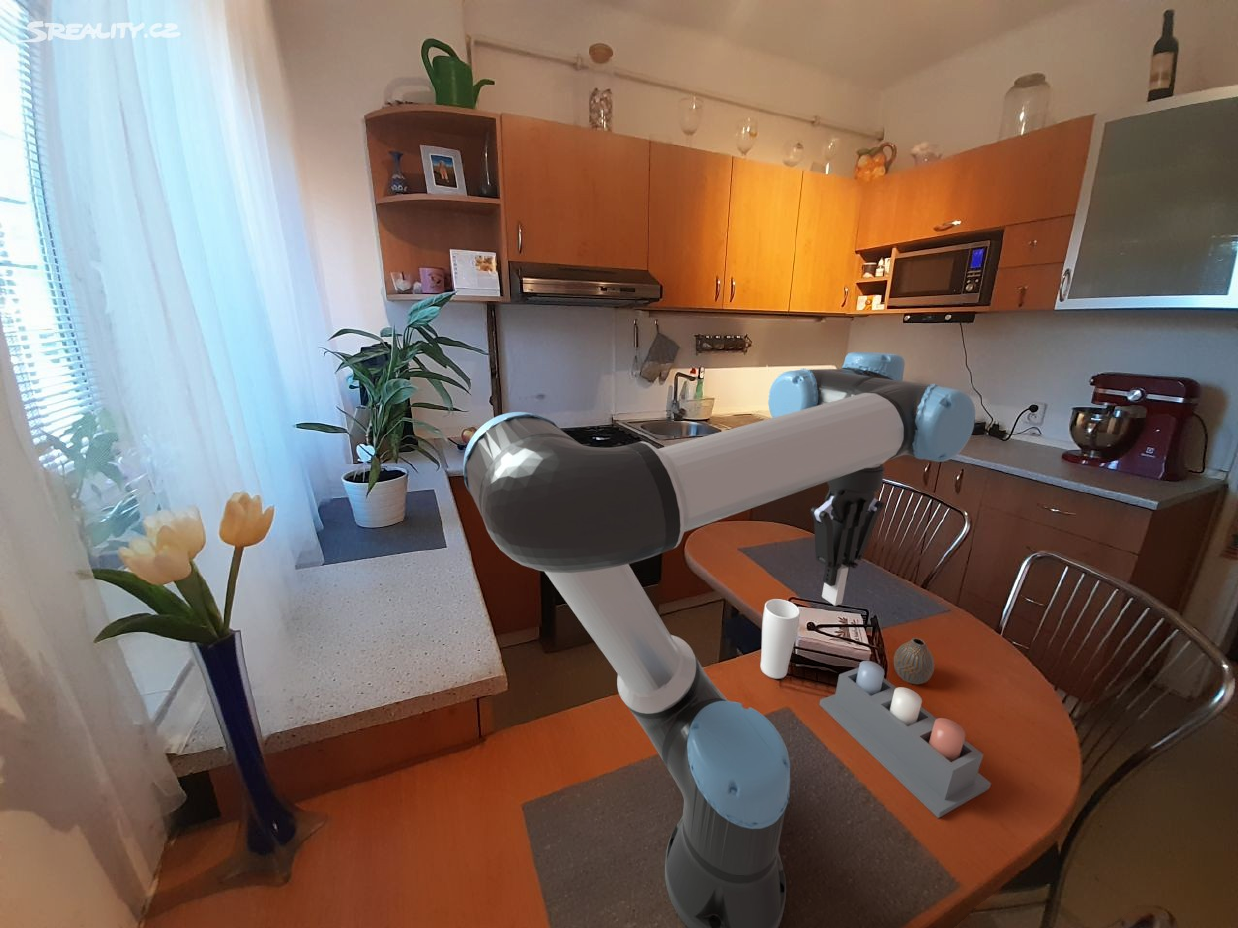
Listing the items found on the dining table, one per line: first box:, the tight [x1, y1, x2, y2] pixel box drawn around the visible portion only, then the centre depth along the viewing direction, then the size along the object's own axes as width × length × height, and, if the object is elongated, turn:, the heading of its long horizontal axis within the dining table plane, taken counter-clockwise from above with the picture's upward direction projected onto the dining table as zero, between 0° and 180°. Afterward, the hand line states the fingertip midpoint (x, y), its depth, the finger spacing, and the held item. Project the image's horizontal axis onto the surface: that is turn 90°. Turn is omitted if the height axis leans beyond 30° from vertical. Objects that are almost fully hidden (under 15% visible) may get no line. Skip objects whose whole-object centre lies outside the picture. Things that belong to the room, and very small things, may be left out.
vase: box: [893, 637, 935, 685], centre depth 96 cm, size 7×7×9 cm
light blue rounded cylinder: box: [856, 660, 885, 696], centre depth 87 cm, size 4×4×7 cm
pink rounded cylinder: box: [929, 717, 966, 762], centre depth 74 cm, size 4×4×7 cm
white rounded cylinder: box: [890, 686, 923, 726], centre depth 81 cm, size 4×4×7 cm
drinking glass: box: [759, 598, 801, 680], centre depth 96 cm, size 7×7×15 cm
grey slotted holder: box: [819, 667, 992, 819], centre depth 82 cm, size 12×23×7 cm, turn 23°
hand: (831, 600), depth 77 cm, fingers closed
